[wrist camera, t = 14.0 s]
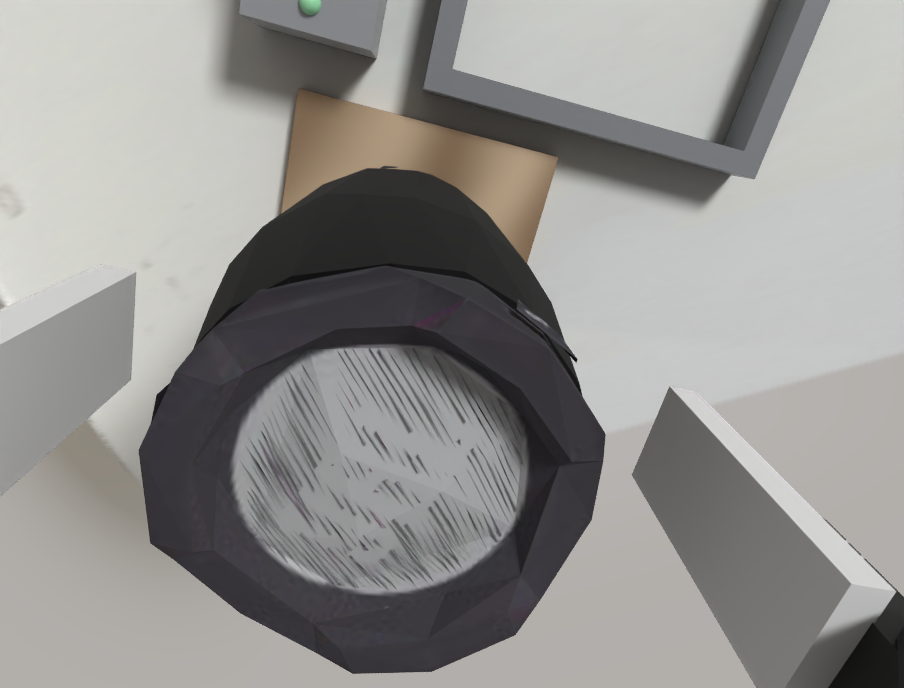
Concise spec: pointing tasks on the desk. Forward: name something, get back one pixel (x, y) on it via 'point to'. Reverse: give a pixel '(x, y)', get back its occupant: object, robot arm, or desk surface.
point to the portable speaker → (376, 430)
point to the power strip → (323, 21)
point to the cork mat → (417, 160)
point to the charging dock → (735, 157)
